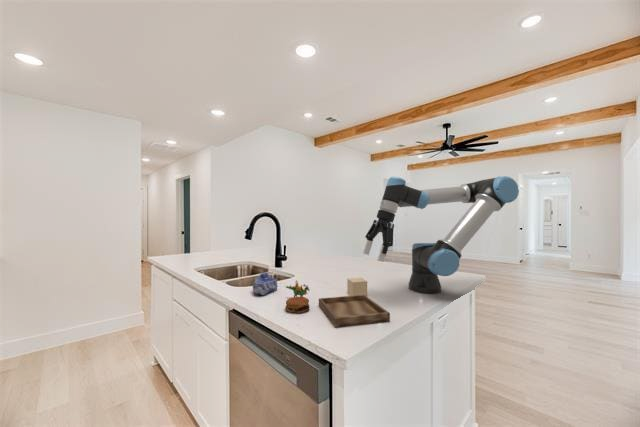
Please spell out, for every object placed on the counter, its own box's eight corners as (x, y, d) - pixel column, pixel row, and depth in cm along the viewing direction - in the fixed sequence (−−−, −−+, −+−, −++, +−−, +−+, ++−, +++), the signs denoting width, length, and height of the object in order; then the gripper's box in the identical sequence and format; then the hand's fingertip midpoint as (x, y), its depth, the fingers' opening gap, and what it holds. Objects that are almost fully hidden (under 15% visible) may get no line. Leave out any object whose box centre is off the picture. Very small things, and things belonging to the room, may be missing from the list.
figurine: (308, 301, 116) (308, 282, 116) (283, 298, 120) (283, 280, 120) (311, 299, 119) (311, 280, 119) (286, 296, 123) (286, 278, 123)
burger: (282, 307, 109) (282, 296, 109) (304, 304, 113) (304, 293, 113) (290, 316, 100) (290, 303, 100) (313, 312, 104) (313, 300, 104)
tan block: (361, 292, 130) (361, 277, 130) (367, 296, 123) (367, 281, 123) (347, 293, 128) (347, 278, 128) (352, 297, 122) (352, 282, 122)
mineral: (261, 270, 138) (278, 270, 134) (263, 288, 138) (280, 288, 135) (244, 279, 124) (262, 280, 121) (246, 299, 125) (265, 301, 121)
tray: (363, 301, 116) (363, 294, 116) (389, 321, 95) (389, 313, 95) (318, 305, 111) (318, 298, 111) (335, 327, 90) (335, 318, 90)
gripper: (367, 207, 131) (353, 249, 130) (395, 210, 107) (379, 262, 106) (380, 212, 133) (367, 253, 132) (411, 216, 109) (395, 266, 108)
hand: (372, 257), depth 119 cm, fingers open, 13 cm apart
